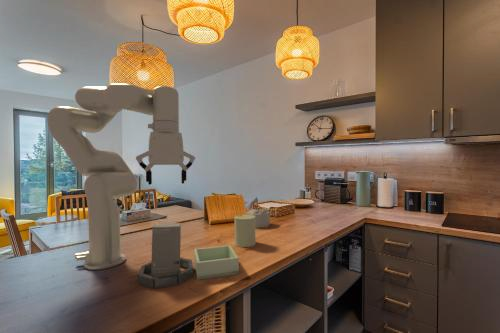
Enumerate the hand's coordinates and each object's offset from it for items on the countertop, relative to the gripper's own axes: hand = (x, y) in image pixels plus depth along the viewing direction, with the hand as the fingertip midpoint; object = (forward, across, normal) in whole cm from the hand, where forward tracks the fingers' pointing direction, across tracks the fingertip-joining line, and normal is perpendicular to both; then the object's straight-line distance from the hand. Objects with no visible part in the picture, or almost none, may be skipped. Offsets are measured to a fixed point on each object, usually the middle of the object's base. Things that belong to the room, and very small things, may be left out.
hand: (166, 183), depth 76 cm
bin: (+28, +15, -1) cm, 32 cm away
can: (+28, +31, +20) cm, 47 cm away
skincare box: (+28, 0, 0) cm, 29 cm away
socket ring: (+28, 0, 0) cm, 28 cm away
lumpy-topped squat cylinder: (+28, +47, +48) cm, 73 cm away
